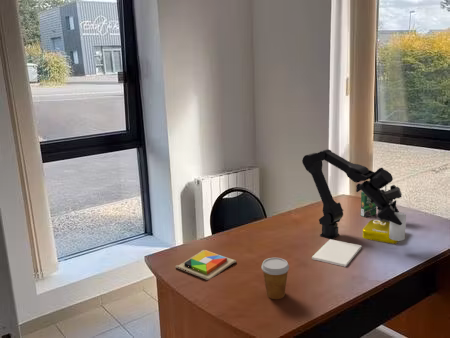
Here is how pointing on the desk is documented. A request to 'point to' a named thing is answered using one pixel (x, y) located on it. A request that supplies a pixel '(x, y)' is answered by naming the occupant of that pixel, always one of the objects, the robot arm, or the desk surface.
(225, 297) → the desk surface
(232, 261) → the wooden puzzle
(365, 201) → the coffee box
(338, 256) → the notebook
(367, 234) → the element tile
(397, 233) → the grey cylinder
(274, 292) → the disposable coffee cup
